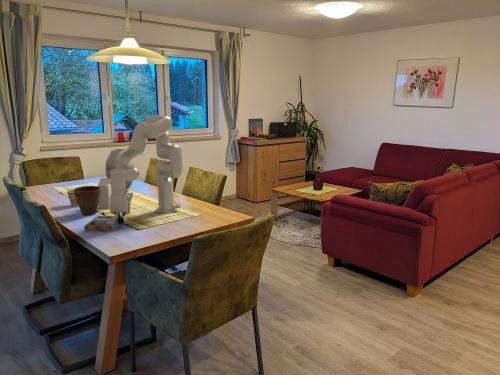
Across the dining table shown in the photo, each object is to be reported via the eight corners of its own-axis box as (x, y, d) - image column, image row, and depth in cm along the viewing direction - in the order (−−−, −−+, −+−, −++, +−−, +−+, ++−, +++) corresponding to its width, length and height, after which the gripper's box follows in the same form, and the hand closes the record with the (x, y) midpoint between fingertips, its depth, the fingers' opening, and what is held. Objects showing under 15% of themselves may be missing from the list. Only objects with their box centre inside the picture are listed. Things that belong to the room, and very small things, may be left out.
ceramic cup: (71, 208, 252) (69, 193, 250) (66, 205, 260) (65, 190, 257) (91, 205, 260) (90, 190, 258) (87, 202, 268) (85, 187, 265)
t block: (121, 222, 224) (120, 216, 224) (113, 229, 213) (113, 222, 212) (100, 222, 225) (99, 215, 224) (91, 229, 213) (91, 222, 212)
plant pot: (107, 213, 241) (105, 188, 238) (83, 219, 231) (80, 192, 227) (95, 209, 251) (93, 184, 248) (71, 214, 240) (69, 188, 237)
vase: (109, 185, 318) (106, 148, 311) (136, 184, 321) (134, 147, 314) (104, 191, 297) (101, 152, 290) (134, 190, 301) (131, 151, 294)
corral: (121, 221, 227) (121, 216, 227) (109, 231, 210) (109, 226, 209) (98, 220, 228) (98, 215, 227) (84, 231, 210) (84, 225, 210)
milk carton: (109, 208, 252) (107, 179, 248) (99, 208, 254) (97, 179, 249) (115, 205, 259) (113, 177, 255) (105, 205, 260) (103, 177, 256)
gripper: (134, 190, 218) (136, 222, 222) (107, 189, 218) (110, 221, 222) (130, 193, 210) (132, 226, 214) (102, 193, 211) (105, 225, 215)
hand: (121, 223), depth 218 cm, fingers closed
